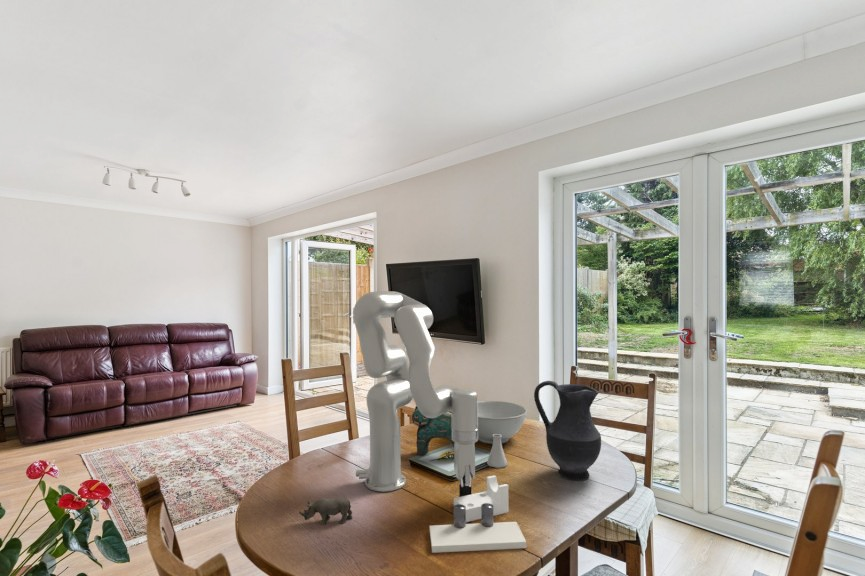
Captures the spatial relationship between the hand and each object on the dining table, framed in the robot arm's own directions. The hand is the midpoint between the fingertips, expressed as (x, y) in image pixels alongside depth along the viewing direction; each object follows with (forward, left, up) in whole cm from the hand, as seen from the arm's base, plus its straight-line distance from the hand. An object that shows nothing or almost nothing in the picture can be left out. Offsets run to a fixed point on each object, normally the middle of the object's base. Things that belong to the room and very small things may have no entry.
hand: (465, 499), depth 126 cm
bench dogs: (0, -15, -1) cm, 15 cm away
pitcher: (+36, +17, -1) cm, 40 cm away
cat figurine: (-4, +37, -1) cm, 37 cm away
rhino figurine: (-38, -7, -1) cm, 38 cm away
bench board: (0, -18, -1) cm, 19 cm away
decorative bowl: (+19, +53, -1) cm, 56 cm away
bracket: (+4, -5, -2) cm, 6 cm away
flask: (+15, +27, -1) cm, 31 cm away
